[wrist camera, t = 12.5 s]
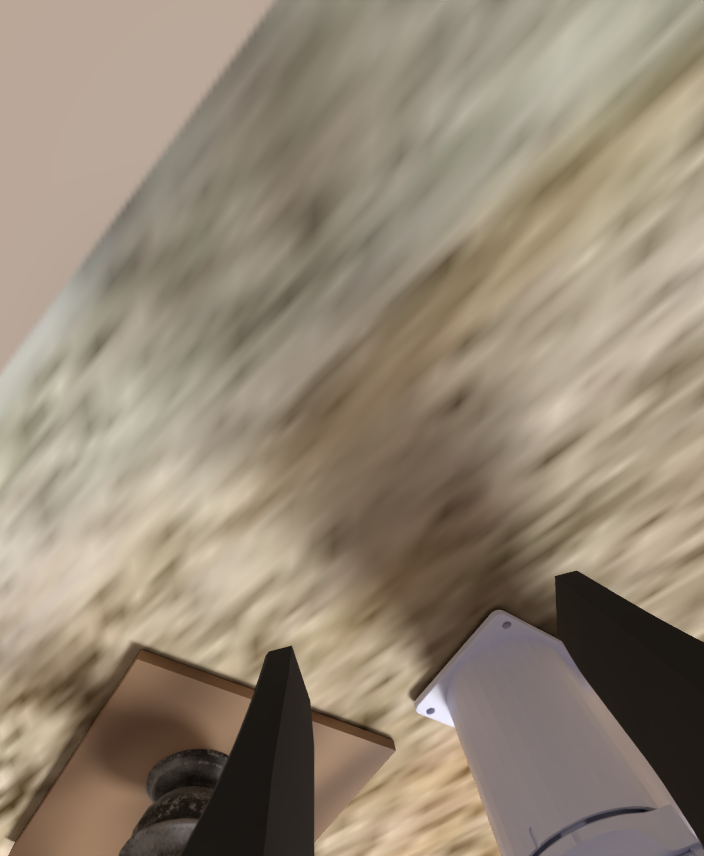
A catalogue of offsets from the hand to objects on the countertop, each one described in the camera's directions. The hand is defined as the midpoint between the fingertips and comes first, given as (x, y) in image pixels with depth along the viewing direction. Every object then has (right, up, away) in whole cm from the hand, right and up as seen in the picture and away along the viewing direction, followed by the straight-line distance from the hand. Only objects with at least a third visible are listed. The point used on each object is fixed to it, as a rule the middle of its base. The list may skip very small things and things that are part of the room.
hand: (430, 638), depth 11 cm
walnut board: (-11, -16, +14) cm, 24 cm away
